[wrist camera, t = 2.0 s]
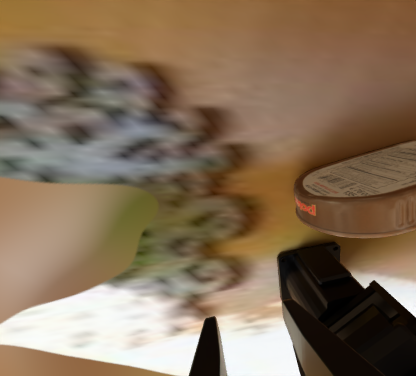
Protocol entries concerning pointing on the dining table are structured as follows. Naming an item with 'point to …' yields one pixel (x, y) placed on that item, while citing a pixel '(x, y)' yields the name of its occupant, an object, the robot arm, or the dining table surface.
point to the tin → (361, 194)
